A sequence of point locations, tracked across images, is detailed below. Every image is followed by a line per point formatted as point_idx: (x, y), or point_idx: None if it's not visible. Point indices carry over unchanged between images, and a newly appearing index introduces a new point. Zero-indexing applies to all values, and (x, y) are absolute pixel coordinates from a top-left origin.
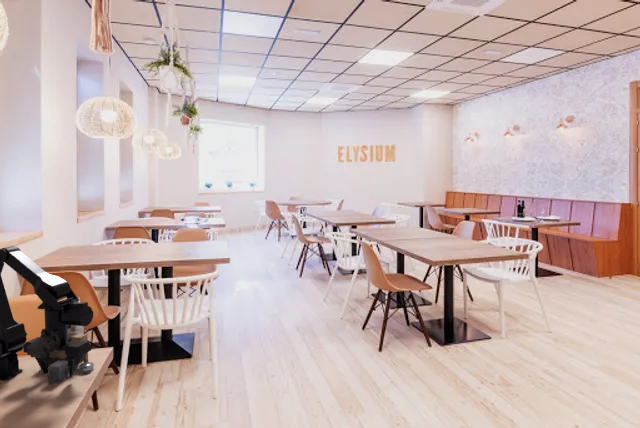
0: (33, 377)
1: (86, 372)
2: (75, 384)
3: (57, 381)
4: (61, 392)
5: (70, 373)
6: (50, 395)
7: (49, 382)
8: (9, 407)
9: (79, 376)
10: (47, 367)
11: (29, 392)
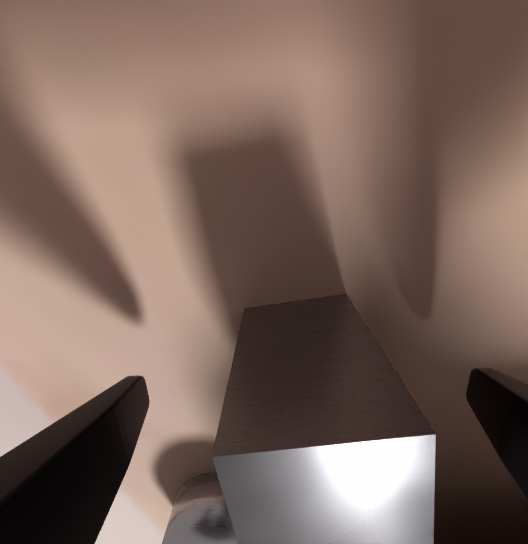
0: None
1: (187, 484)
2: (88, 322)
3: (262, 313)
4: (52, 159)
5: (99, 398)
6: (91, 65)
7: (342, 295)
8: None
9: (188, 431)
10: (508, 454)
11: (382, 55)
